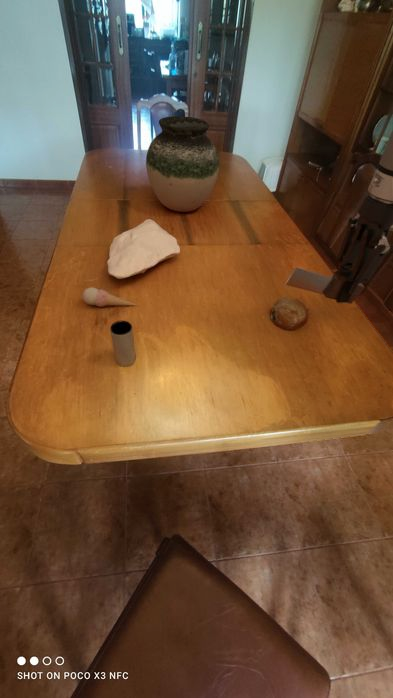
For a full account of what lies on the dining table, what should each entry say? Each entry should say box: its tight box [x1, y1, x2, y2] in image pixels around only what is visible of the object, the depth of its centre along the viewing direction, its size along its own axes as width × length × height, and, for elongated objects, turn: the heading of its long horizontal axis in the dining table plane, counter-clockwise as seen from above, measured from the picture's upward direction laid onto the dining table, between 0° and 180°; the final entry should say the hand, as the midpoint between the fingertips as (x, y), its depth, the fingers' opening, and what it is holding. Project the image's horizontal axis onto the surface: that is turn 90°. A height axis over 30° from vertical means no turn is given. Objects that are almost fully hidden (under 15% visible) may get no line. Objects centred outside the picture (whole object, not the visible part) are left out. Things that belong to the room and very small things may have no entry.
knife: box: [284, 266, 365, 305], centre depth 73 cm, size 19×2×5 cm, turn 99°
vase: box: [145, 115, 220, 213], centre depth 124 cm, size 28×28×30 cm
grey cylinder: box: [109, 320, 137, 367], centre depth 71 cm, size 4×4×10 cm
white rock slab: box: [107, 218, 181, 280], centre depth 101 cm, size 24×35×9 cm
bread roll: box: [270, 296, 310, 331], centre depth 87 cm, size 10×10×8 cm
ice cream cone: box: [82, 287, 139, 308], centre depth 86 cm, size 5×5×15 cm
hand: (338, 297), depth 77 cm, fingers closed on knife, 2 cm apart
